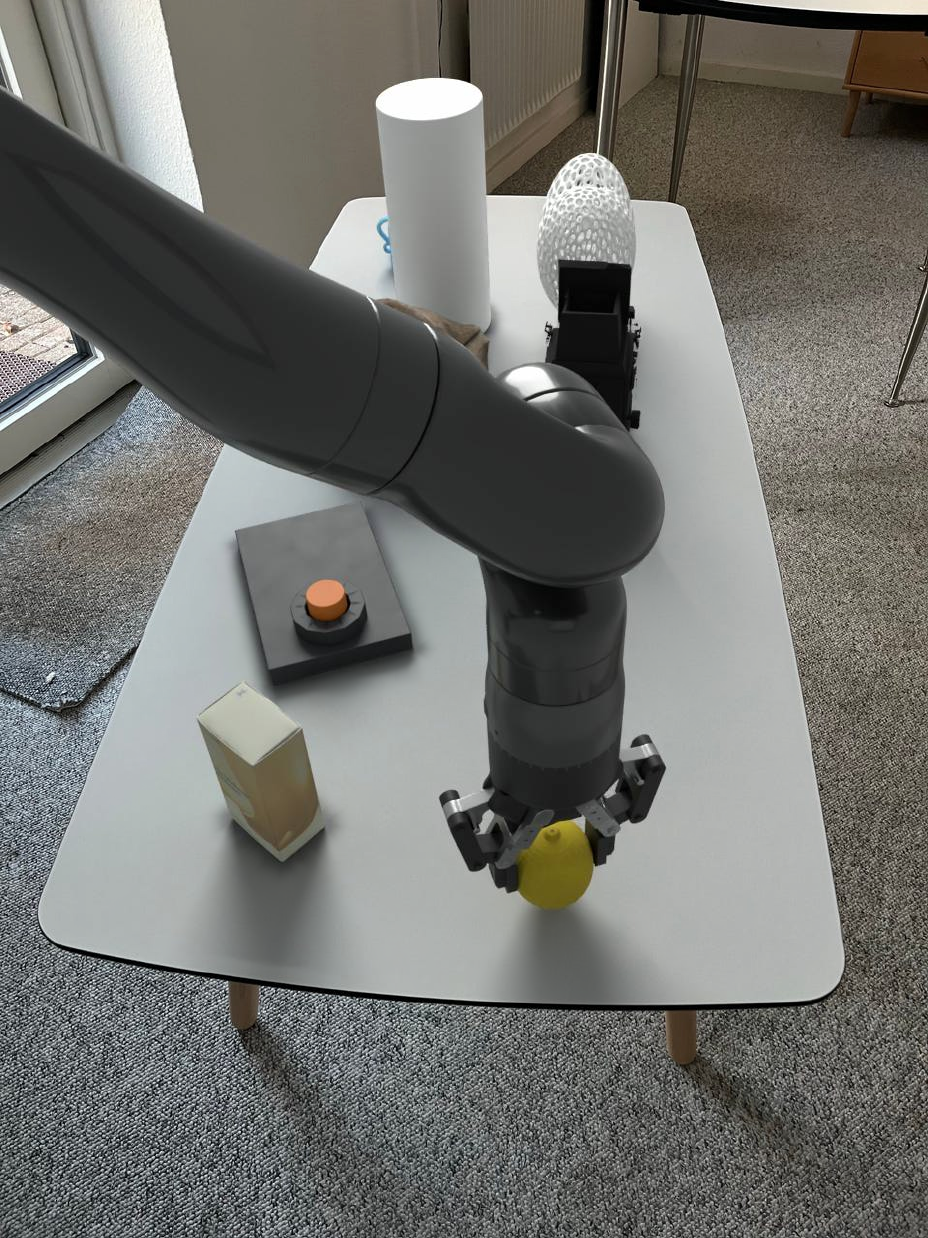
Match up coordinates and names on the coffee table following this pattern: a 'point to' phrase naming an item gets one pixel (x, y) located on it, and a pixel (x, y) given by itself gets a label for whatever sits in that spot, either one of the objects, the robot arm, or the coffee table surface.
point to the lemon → (556, 867)
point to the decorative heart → (585, 219)
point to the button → (326, 600)
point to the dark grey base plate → (302, 556)
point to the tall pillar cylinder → (437, 196)
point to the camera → (597, 331)
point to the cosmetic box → (262, 769)
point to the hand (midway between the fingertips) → (551, 866)
